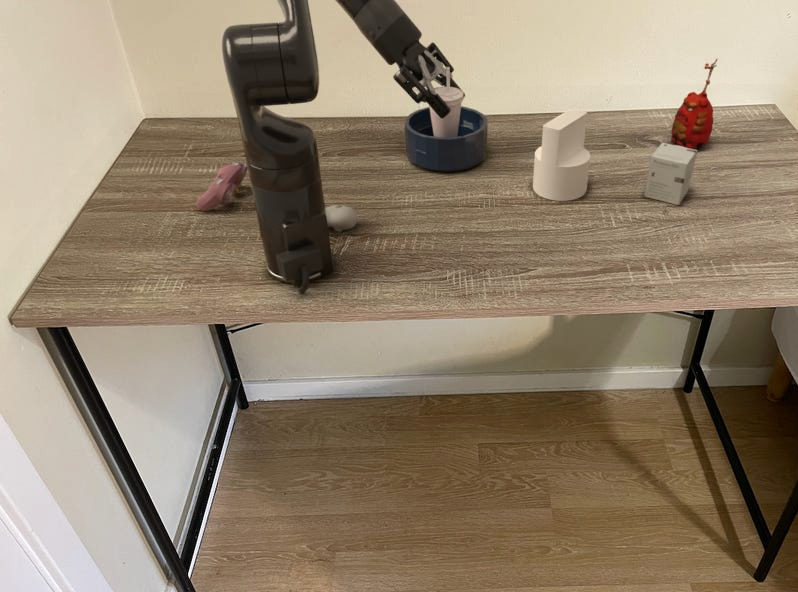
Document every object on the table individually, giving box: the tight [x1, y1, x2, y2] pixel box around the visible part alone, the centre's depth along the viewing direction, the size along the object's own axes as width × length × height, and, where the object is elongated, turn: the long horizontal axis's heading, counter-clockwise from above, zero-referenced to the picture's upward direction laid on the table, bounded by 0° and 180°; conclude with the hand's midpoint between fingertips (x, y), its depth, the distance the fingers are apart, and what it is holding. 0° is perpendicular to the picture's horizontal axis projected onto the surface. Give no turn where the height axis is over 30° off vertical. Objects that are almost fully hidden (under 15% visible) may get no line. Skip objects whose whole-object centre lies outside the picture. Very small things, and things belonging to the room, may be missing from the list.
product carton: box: [643, 142, 698, 206], centre depth 124 cm, size 6×6×7 cm
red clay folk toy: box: [670, 58, 718, 150], centre depth 136 cm, size 8×7×15 cm
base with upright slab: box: [532, 107, 591, 202], centre depth 124 cm, size 9×9×12 cm
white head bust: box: [325, 204, 358, 233], centre depth 117 cm, size 4×8×5 cm
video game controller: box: [195, 160, 248, 212], centre depth 123 cm, size 10×5×7 cm, turn 168°
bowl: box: [404, 105, 488, 173], centre depth 135 cm, size 14×14×6 cm
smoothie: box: [428, 67, 465, 137], centre depth 132 cm, size 6×6×14 cm
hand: (454, 107), depth 131 cm, fingers closed on smoothie, 6 cm apart
